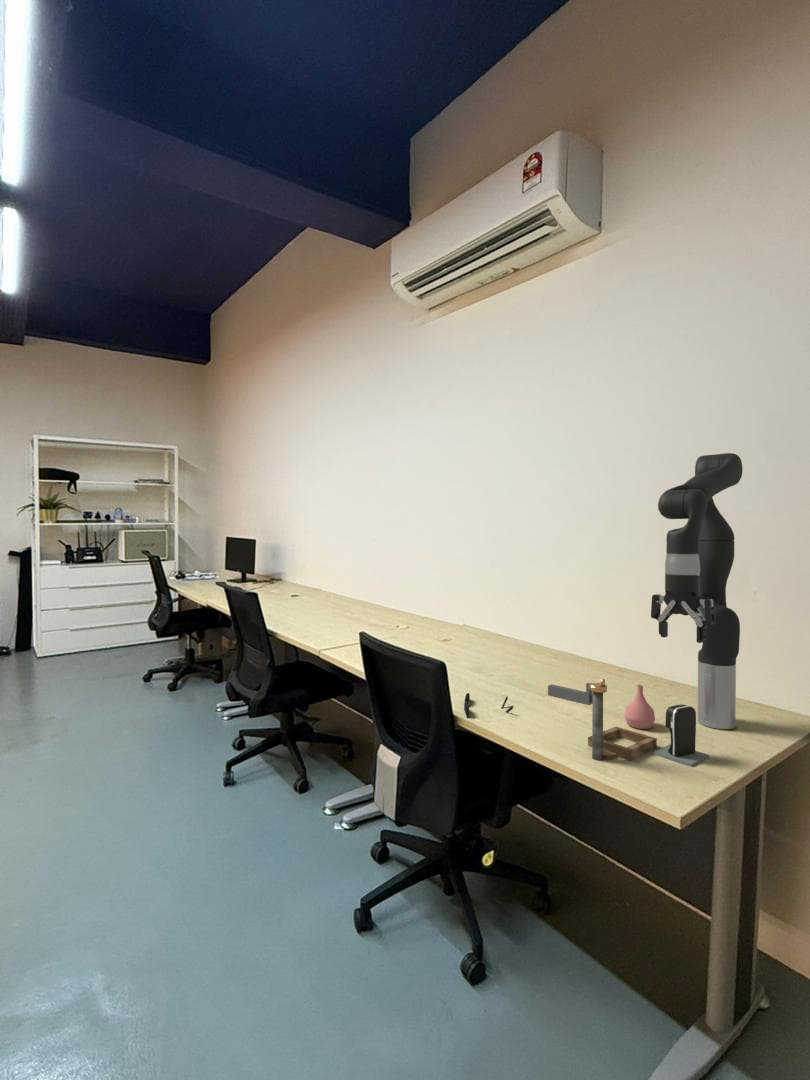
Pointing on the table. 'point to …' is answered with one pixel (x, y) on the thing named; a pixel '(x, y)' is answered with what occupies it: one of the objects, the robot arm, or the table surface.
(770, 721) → the table surface
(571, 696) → the bar
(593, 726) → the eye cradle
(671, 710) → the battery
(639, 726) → the pink vase
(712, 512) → the robot arm
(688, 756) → the pad
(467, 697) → the thin black curved strips
